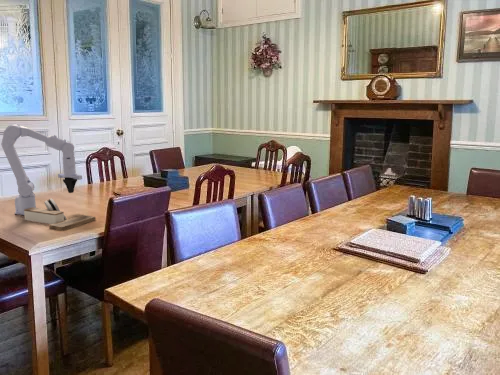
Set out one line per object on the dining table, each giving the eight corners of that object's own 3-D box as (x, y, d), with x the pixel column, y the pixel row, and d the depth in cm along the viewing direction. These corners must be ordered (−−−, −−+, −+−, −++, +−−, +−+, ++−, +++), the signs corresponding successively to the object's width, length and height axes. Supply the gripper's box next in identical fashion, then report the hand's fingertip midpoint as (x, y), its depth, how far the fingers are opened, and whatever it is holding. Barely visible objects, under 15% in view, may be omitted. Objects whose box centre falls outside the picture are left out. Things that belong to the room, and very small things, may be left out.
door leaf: (49, 228, 207) (48, 225, 206) (82, 218, 225) (82, 215, 224) (62, 230, 203) (62, 227, 203) (95, 219, 221) (95, 216, 221)
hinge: (67, 219, 222) (58, 201, 218) (57, 224, 220) (48, 205, 216) (60, 212, 236) (51, 194, 232) (51, 216, 234) (42, 198, 230)
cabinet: (24, 219, 221) (23, 209, 220) (33, 217, 225) (32, 207, 224) (55, 224, 212) (54, 214, 212) (64, 222, 217) (63, 211, 216)
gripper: (86, 166, 235) (87, 192, 238) (64, 164, 241) (66, 189, 244) (75, 167, 229) (77, 194, 232) (53, 165, 235) (55, 192, 238)
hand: (71, 192), depth 237 cm, fingers closed
